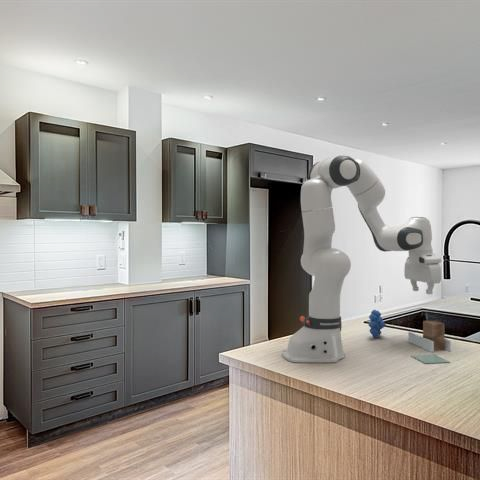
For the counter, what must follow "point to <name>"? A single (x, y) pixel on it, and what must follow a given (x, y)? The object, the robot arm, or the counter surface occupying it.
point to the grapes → (376, 323)
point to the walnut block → (434, 333)
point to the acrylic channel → (427, 342)
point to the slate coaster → (430, 359)
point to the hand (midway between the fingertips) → (422, 292)
